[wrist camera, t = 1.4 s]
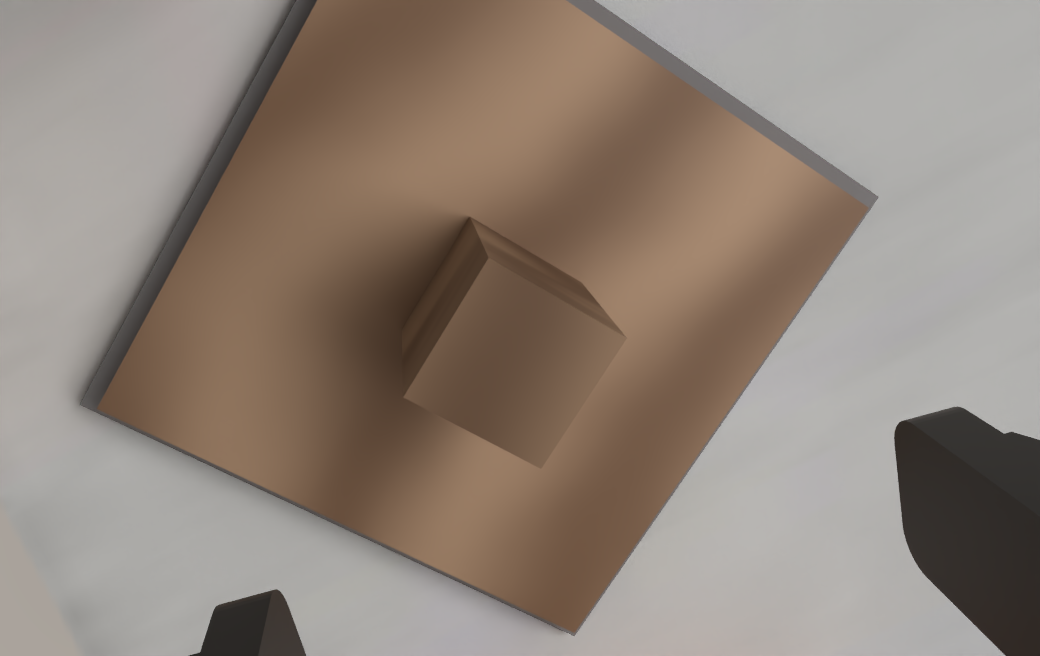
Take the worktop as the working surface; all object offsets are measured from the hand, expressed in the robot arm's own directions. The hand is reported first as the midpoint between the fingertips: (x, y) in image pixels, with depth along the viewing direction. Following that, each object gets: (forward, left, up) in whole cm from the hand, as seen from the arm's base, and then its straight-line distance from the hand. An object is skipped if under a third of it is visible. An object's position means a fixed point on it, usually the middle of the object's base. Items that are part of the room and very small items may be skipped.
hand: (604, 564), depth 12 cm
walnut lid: (0, 0, -14) cm, 14 cm away
